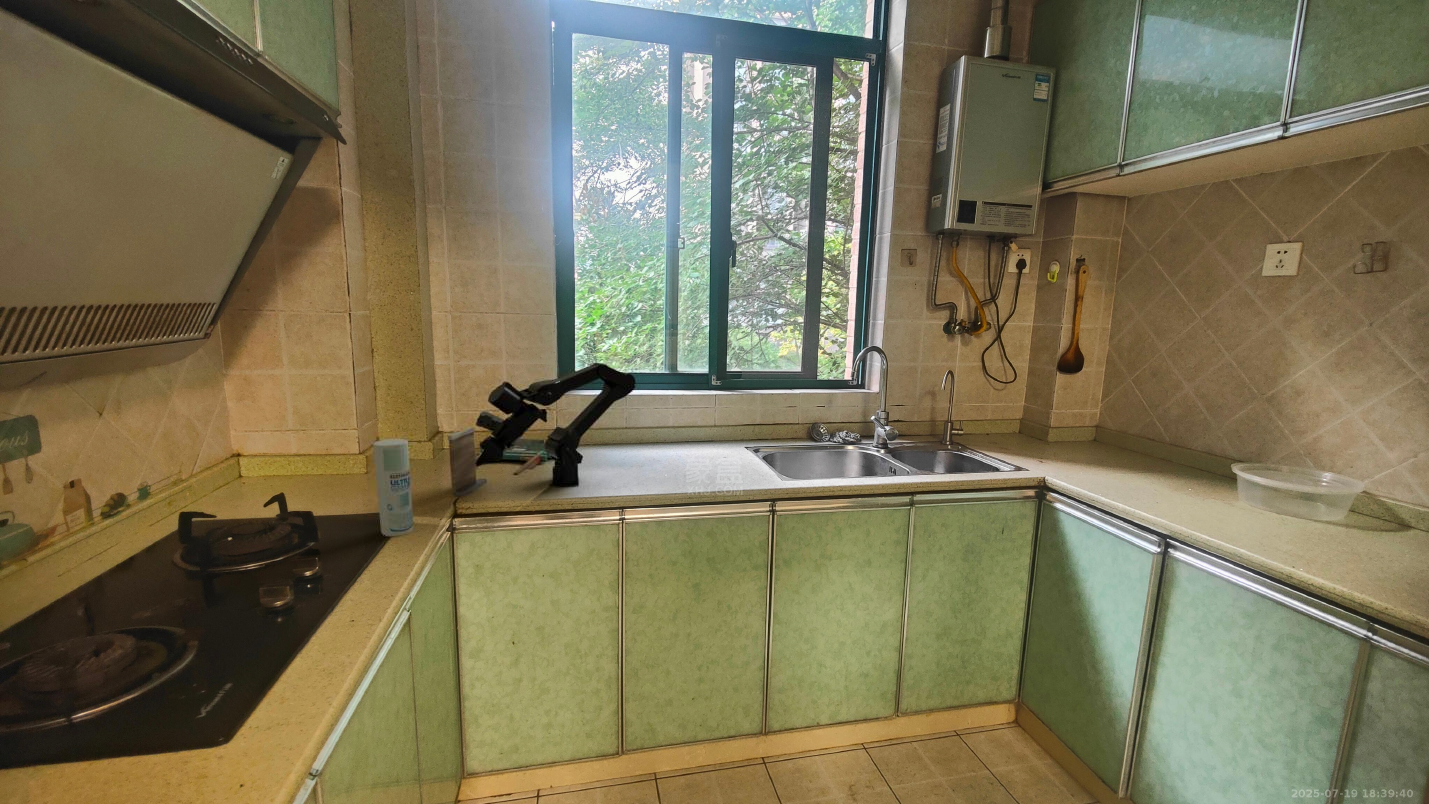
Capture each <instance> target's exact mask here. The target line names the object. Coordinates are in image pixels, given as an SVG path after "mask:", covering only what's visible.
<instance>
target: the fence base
mask: <svg viewBox="0 0 1429 804" xmlns="http://www.w3.org/2000/svg"><path fill="white" fill-rule="evenodd" d="M487 483H488V479H487V478H477V479H476V481H474V482H472V483H471V484H469V485H467V486H465V487H463V488H461V489H460V490H458V491H456V492H455V493H454V494H455V497H460V498H461V497H462V498H463V497H465V496H467V495H468V494H470V493H472V492H473V491H475V490H477V489H479V488H481V487H482V486H484V485H485V484H487Z"/></svg>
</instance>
